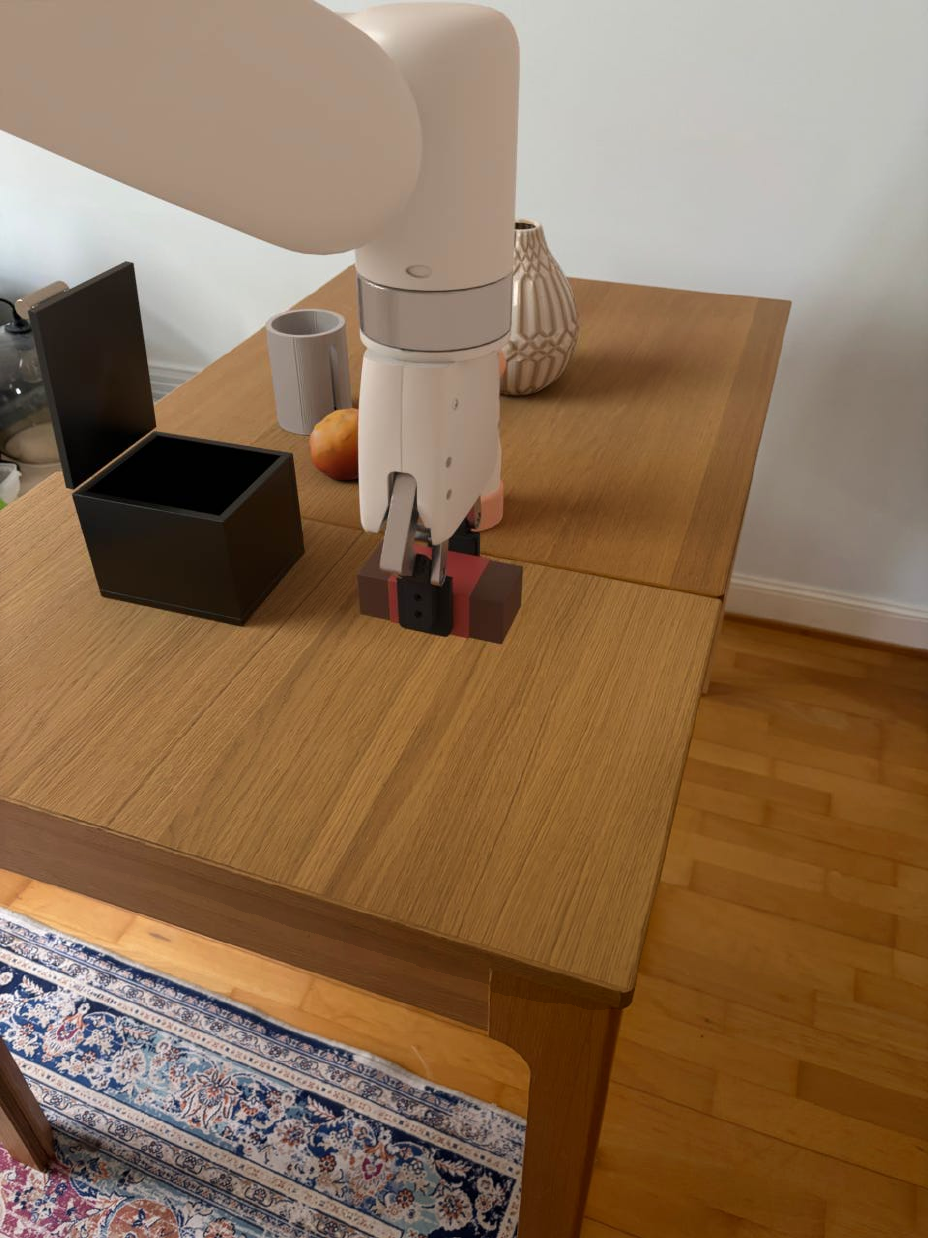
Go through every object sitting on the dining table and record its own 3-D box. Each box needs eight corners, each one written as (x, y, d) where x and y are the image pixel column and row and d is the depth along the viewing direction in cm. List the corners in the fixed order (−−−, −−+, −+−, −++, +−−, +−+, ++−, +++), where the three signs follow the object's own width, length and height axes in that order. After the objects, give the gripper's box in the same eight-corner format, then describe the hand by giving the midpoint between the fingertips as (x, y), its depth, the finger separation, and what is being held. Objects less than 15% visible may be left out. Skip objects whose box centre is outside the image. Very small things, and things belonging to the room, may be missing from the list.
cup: (296, 399, 121) (285, 305, 113) (363, 407, 119) (356, 312, 111) (265, 429, 114) (251, 332, 107) (335, 439, 112) (326, 340, 105)
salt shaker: (517, 515, 98) (524, 335, 86) (465, 540, 94) (465, 355, 83) (471, 489, 102) (472, 314, 91) (419, 512, 99) (412, 332, 87)
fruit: (396, 476, 102) (353, 417, 98) (336, 508, 104) (292, 452, 100) (401, 441, 108) (361, 385, 104) (345, 473, 111) (304, 418, 107)
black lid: (133, 262, 80) (78, 251, 81) (36, 311, 70) (-25, 298, 71) (156, 426, 89) (107, 414, 90) (73, 490, 80) (19, 475, 81)
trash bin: (305, 551, 93) (293, 452, 86) (242, 626, 83) (223, 521, 77) (175, 527, 96) (154, 430, 90) (101, 596, 87) (71, 493, 80)
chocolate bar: (521, 606, 58) (523, 564, 56) (501, 646, 55) (503, 603, 53) (385, 578, 60) (383, 537, 58) (359, 615, 57) (355, 573, 55)
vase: (582, 365, 129) (595, 210, 117) (563, 414, 117) (575, 247, 105) (470, 354, 133) (470, 202, 120) (440, 400, 120) (437, 237, 108)
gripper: (424, 249, 53) (431, 526, 64) (285, 358, 41) (323, 679, 52) (553, 263, 51) (537, 546, 63) (449, 381, 39) (452, 710, 50)
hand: (440, 603), depth 57 cm, fingers closed on chocolate bar, 4 cm apart
